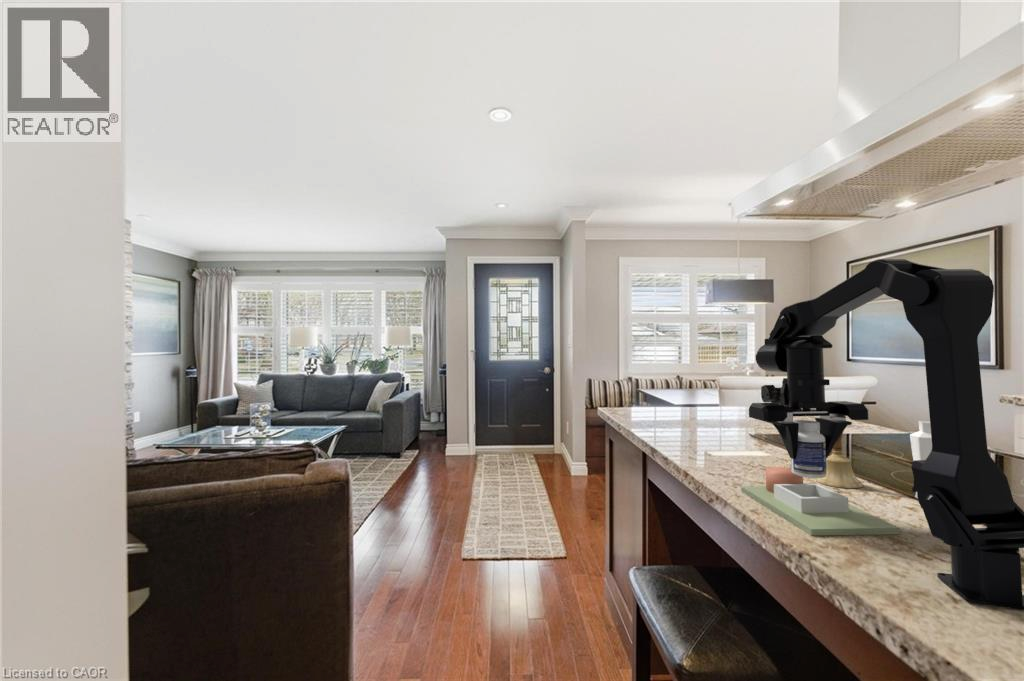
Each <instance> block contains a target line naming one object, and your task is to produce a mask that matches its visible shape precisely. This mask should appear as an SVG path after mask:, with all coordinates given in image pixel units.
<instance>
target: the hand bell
mask: <svg viewBox="0 0 1024 681" xmlns="http://www.w3.org/2000/svg"><path fill="white" fill-rule="evenodd" d="M843 434H844V431H843V432H842V434H841V435H840V437H839V438H838V440H837V442H836V443H835V445H834V447H833V449H832V453H831V454H829V456H828V458H826V471H827V473H826V477H823V478H815V481H816V482H817V483H819V484H820V485H825V486H829V487H833V488H840V489H842V488H843V489H859V488H861V489H862V488H863V487H864V485H863V482H862V481H860V480H859V479H858V477H857V476H856V474H855V473H854V470H853V467H852V463H851V458H848V457H846V456H844V454H843V448H842V446H843V445H842V444H843V443H842V438H843Z"/></svg>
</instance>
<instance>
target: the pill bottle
mask: <svg viewBox="0 0 1024 681" xmlns="http://www.w3.org/2000/svg"><path fill="white" fill-rule="evenodd" d="M793 422H795V423H799V429H798V446H797V455H796V459H792V458H790V463H791V464H790V466H791V470H792V473H793V474H795V475H798V476H802V477H803V478H806V479H807V478H809V479H810V478H811V479H816V478H823V477H826V473H827V471H826V444H825V437H824V436H823V435H822V434H820V433H819V430H820V422H817V421H816V420H809V419H808V420H806V419H805V420H804V419H803V420H802V419H799V420H798V419H795V420H793Z"/></svg>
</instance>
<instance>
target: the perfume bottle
mask: <svg viewBox="0 0 1024 681" xmlns="http://www.w3.org/2000/svg"><path fill="white" fill-rule="evenodd" d="M917 422H918V429H919V430H918V431H915V432H913V433H910V434H909V438H910V447H911V454H912V459H913V460H912V462H913V461H914V460H926V459H927V457H928V455H929V454H930V452H931V450H932V438H931V427H930V420H929V421H928V420H918V421H917ZM914 495H915V496H914V498H916V499H918V497H917V492H915V494H914Z"/></svg>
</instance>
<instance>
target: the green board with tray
mask: <svg viewBox="0 0 1024 681" xmlns="http://www.w3.org/2000/svg"><path fill="white" fill-rule="evenodd" d="M740 491H741V493H743V494H745V495H747V496H748V497H749V498H751V499H752V500H754V501H755V502H757V503H759V504H761V505H762V506H764V507H765V508H766V509H769V510H770V511H772V512H773V513H775V514H777V515H778V516H779V517H782V518H783V519H784V520H786V521H788V522H789V523H791V524H792V525H794V526H795V527H797V528H799V529H801V530H802V531H803V532H805V533H807V534H808V535H810V536H864V535H865V536H866V535H871V536H872V535H901V527H899V526H897V525H894V524H892V523H890V522H888V521H887V520H883V519H882V518H880V517H878V516H875V515H873V514H871V513H869V512H866V511H865V510H863V509H860V508H859V507H856V506H854V505H852V504H849V497H848V496H845V495H843V494H841V493H838V492H836V491H834V490H832V489H829V488H827V487H825V486H823V485H822V484H818V483H804V477H802V476H798V475H795V474H793V473H792V470H791V468H790V467H785V466H784V467H782V466H770V467H766V468H765V485H758V486H757V485H753V486H751V485H750V486H747V485H745V486H741V487H740Z"/></svg>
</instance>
